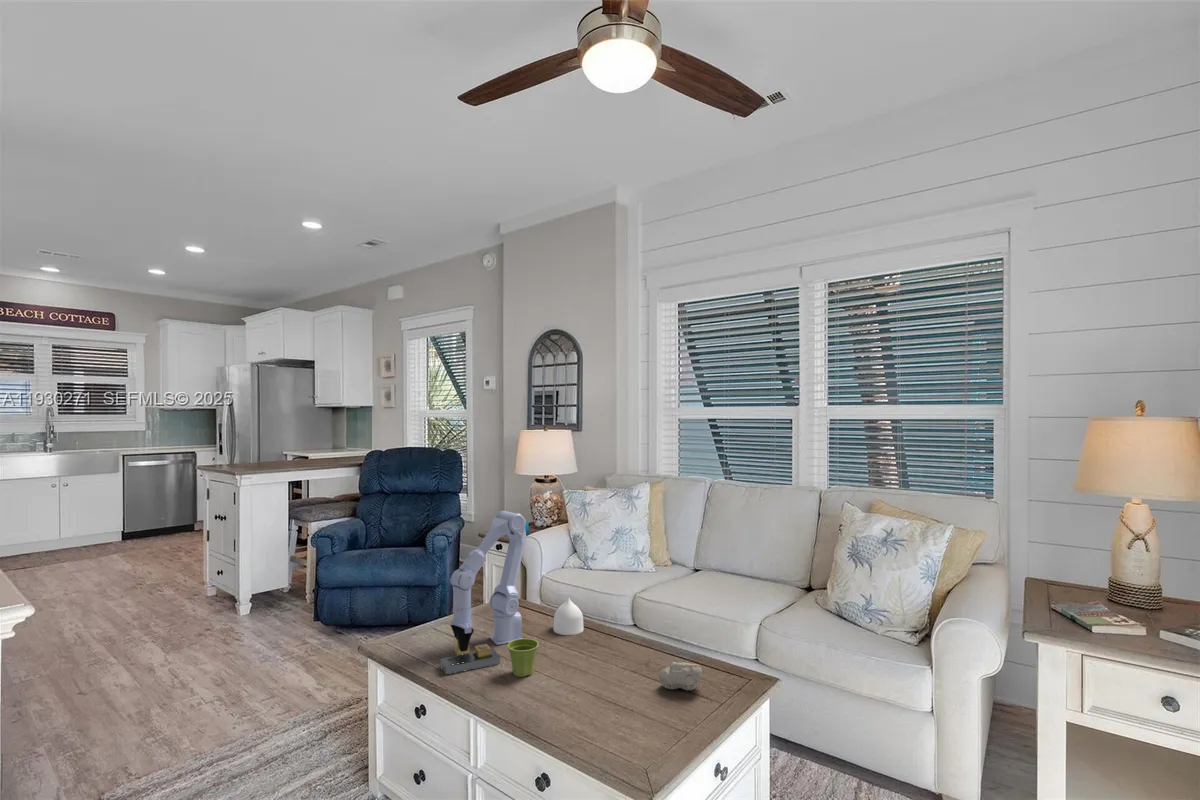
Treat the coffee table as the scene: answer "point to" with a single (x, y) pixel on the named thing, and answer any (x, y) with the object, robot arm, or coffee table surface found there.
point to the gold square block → (457, 647)
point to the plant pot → (523, 656)
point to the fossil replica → (680, 676)
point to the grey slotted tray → (468, 662)
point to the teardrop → (568, 619)
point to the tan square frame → (482, 651)
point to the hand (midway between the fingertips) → (461, 648)
